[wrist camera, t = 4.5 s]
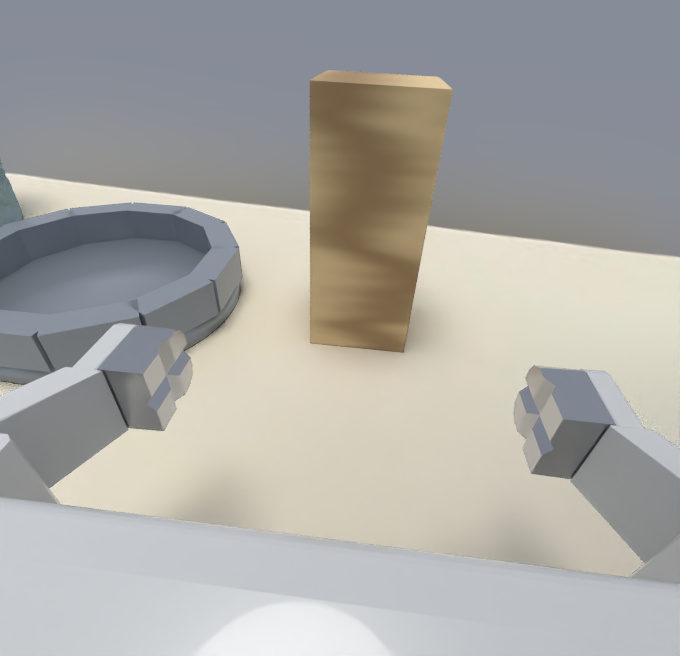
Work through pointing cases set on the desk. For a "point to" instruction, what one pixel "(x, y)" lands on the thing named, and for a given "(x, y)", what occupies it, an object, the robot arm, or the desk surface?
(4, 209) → the blue-grey cup
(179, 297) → the bowl
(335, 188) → the oak block
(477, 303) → the desk surface
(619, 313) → the desk surface
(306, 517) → the desk surface
